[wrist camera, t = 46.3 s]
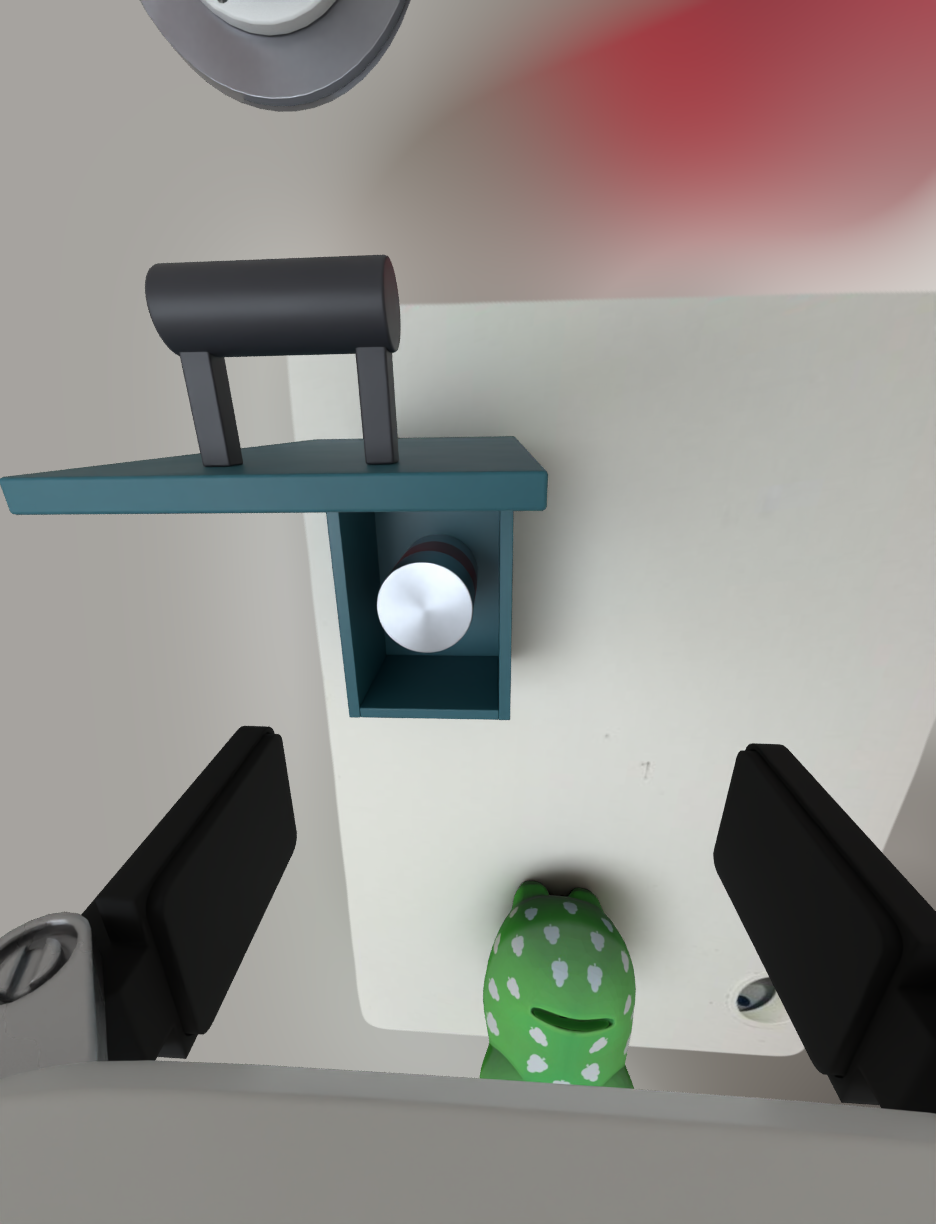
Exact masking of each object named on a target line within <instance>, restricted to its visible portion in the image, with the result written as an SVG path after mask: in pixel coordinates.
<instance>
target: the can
mask: <svg viewBox="0 0 936 1224" xmlns="http://www.w3.org/2000/svg"><path fill="white" fill-rule="evenodd" d="M477 579H478V567H477V563H476V560H475V557H474V556H473V554H472V552H471V551H470V549H469V548H468V547H467V546H466V545H465V544H463V543H462V542H461V541H459V540H458V539H456V538H453V537H451V536H447V535H430V536H426V537H423V538H421V539H419V540H418V541H416V542H415V543H414V544H413V545H412V546H411V547H410V548H409V549H408V550H407V552H406V553H405V554H404V555H403V556H402V558H401V559H400V560H399V562H398V563H397V564H396V565H395V567H394V568H393V570H392V571H391V572H390V574H389V575H388V576H387V578H386V579H385V580H384V582H383V583H382V585H381V587H380V590H379V592H378V597H377V613H378V617H379V620H380V623H381V625H382V627H383V628H384V630H385V632H386V633H387V634H388V635H389V636H390V637H391V638H392V639H393V640H394V641H395V642H396V643H398V644H399V645H401V646H403V647H404V648H407V649H409V650H412V651H416V652H422V653H432V652H438V651H442V650H445V649H447V648H449V647H451V646H453V645H454V644H456V643H457V642H458V641H459V640H461V638H462V637H463V636H464V635H465V633H466V632H467V630H468V628H469V626H470V624H471V621H472V616H473V609H474V603H475V596H476V588H477Z"/></svg>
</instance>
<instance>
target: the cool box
mask: <svg viewBox="0 0 936 1224" xmlns="http://www.w3.org/2000/svg"><path fill="white" fill-rule="evenodd" d="M326 515H327V524H328V533H329V541H330V550H331V559H332V568H333V576H334V585H335V594H336V602H337V611H338V620H339V628H340V637H341V646H342V654H343V663H344V672H345V681H346V689H347V698H348V707H349V715H350V717H378V718H437V719H495V720H498V719H499V720H510V694H511V632H512V570H513V511H441V512H326ZM430 535H447V536H451V537H453V538H456V539H458V540H459V541H461V542H462V543H463V544H465V545H466V546H467V547H468V548H469V549H470V551H471V552H472V554H473V556H474V557H475V560H476V563H477V567H478V579H477V588H476V596H475V603H474V609H473V616H472V621H471V624H470V626H469V628H468V630H467V632H466V633H465V635H464V636H463V637H462V638H461V640H459V641H458V642H457V643H456V644H454V645H453V646H451V647H449V648H447V649H445V650H442V651H438V652H432V653H422V652H416V651H412V650H409V649H407V648H404V647H403V646H401V645H399V644H398V643H396V642H395V641H394V640H393V639H392V638H391V637H390V636H389V635H388V634H387V633H386V632H385V630H384V628H383V627H382V625H381V623H380V620H379V617H378V613H377V597H378V592H379V590H380V587H381V585H382V583H383V582H384V580H385V579H386V578H387V576H388V575H389V574H390V572H391V571H392V570H393V568H394V567H395V565H396V564H397V563H398V562H399V560H400V559H401V558H402V556H403V555H404V554H405V553H406V552H407V550H408V549H409V548H410V547H411V546H412V545H413V544H414V543H415V542H416V541H418V540H419V539H421V538H423V537H426V536H430Z"/></svg>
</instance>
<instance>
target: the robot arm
mask: <svg viewBox="0 0 936 1224" xmlns="http://www.w3.org/2000/svg"><path fill="white" fill-rule="evenodd" d="M200 1H201V2H202V3H203V4H204V5H205V6H206V7H207V8H208V9H209V10H210V11H211V12H213V13H214V14H215V15H217V16H218V17H220V18H221V19H223V20H224V21H226V22H227V23H229V24H230V25H232V26H235V27H237V28H239V29H242V30H244V31H247V32H249V33H255V34H262V35H269V36H271V35H279V34H288V33H291V32H293V31H296V30H299V29H301V28H304V27H306V26H308V25H309V24H311V23H312V22H313V21H315V20H316V19H318V18H319V17H320V16H322V15H323V14H324V13H325V12H326V11H327V10H328V9H329V8H330V7H331V5H332V4H333V3H334V2H335V1H336V0H200ZM296 839H297V831H296V825H295V818H294V813H293V806H292V799H291V793H290V787H289V780H288V774H287V767H286V762H285V754H284V748H283V742H282V737H281V736H280V735H279V734H274V731H273V729H272V728H271V727H263V726H262V727H261V726H242V727H240V728H239V729H238V730H237V731H236V733H235V734H234V735H233V736H232V737H231V738H230V740H229V741H228V742H227V743H226V744H225V746H224V747H223V748H222V749H221V750H220V751H219V753H218V754H217V755H216V756H215V757H214V759H213V760H212V761H211V762H210V763H209V765H208V766H207V767H206V768H205V769H204V770H203V772H202V773H201V774H200V775H199V776H198V777H197V779H196V780H195V781H194V782H193V783H192V785H191V786H190V787H189V788H188V789H187V791H186V792H185V793H184V794H183V795H182V796H181V798H180V799H179V800H178V801H177V802H176V804H175V805H174V806H173V807H172V808H171V809H170V811H169V812H168V813H167V814H166V815H165V817H164V818H163V819H162V820H161V821H160V822H159V824H158V825H157V826H156V827H155V828H154V830H153V831H152V832H151V833H150V834H149V835H148V837H147V838H146V839H145V840H144V841H143V842H142V844H141V845H140V846H139V847H138V848H137V850H136V851H135V852H134V853H133V854H132V855H131V857H130V858H129V859H128V860H127V861H126V863H125V864H124V865H123V866H122V867H121V869H120V870H119V871H118V872H117V873H116V874H115V876H114V877H113V878H112V879H111V880H110V881H109V883H108V884H107V885H106V886H105V887H104V889H103V890H102V891H101V892H100V893H99V894H98V896H97V897H96V898H95V899H94V900H93V902H92V903H91V904H90V905H89V906H88V907H87V909H86V910H85V911H84V912H83V913H82V915H80V914H77V913H70V912H61V913H54V914H48V915H45V916H43V917H40V918H37V919H34V920H31V921H29V922H27V923H25V924H23V925H21V926H19V927H17V928H15V929H13V930H12V931H10V932H8V933H7V934H5V935H4V936H3V937H1V938H0V1224H936V911H935V910H934V909H933V908H932V907H931V906H930V905H929V904H928V903H927V901H926V900H924V898H923V897H922V896H921V895H920V894H919V893H918V892H917V890H916V889H915V888H914V887H913V886H912V885H911V884H910V883H909V882H908V881H907V879H906V878H905V877H904V876H903V875H902V874H901V873H900V872H899V871H898V870H897V869H896V867H895V866H894V865H893V864H892V863H891V862H890V861H889V860H888V859H887V858H886V856H885V855H884V854H883V853H882V852H881V851H880V850H879V849H878V848H877V846H876V845H875V844H874V843H873V842H872V841H871V840H870V839H869V838H868V837H867V836H866V834H865V833H864V832H863V831H862V830H861V829H860V828H859V827H858V826H857V825H856V823H855V822H854V821H853V820H852V819H851V818H850V817H849V816H848V815H847V814H846V812H845V811H844V810H843V809H842V808H841V807H840V806H839V805H838V804H837V803H836V801H835V800H834V799H833V798H832V797H831V796H830V795H829V794H828V793H827V792H826V790H825V789H824V788H823V787H822V786H821V785H820V784H819V783H818V782H817V781H816V779H815V778H814V777H813V776H812V775H811V774H810V773H809V772H808V771H807V770H806V768H805V767H804V766H803V765H802V764H801V763H800V762H799V761H798V760H797V759H796V757H795V756H794V755H793V754H792V753H791V752H790V751H789V750H788V749H787V748H786V747H785V746H784V745H780V744H753V743H752V744H749V745H748V746H747V747H746V750H745V751H740V752H739V753H738V755H737V758H736V762H735V766H734V770H733V774H732V778H731V782H730V786H729V791H728V795H727V799H726V803H725V807H724V811H723V815H722V819H721V823H720V827H719V831H718V835H717V840H716V844H715V848H714V853H713V857H714V864H715V868H716V871H717V873H718V875H719V877H720V879H721V881H722V883H723V885H724V887H725V889H726V891H727V893H728V895H729V897H730V899H731V901H732V903H733V905H734V907H735V909H736V911H737V913H738V915H739V917H740V919H741V921H742V923H743V925H744V927H745V929H746V931H747V933H748V935H749V937H750V939H751V941H752V943H753V945H754V947H755V949H756V951H757V953H758V955H759V957H760V959H761V961H762V963H763V965H764V967H765V969H766V971H767V973H768V975H769V977H770V979H771V981H772V983H773V985H774V987H775V989H776V991H777V993H778V995H779V997H780V999H781V1001H782V1003H783V1005H784V1007H785V1009H786V1011H787V1013H788V1015H789V1017H790V1019H791V1021H792V1023H793V1025H794V1027H795V1029H796V1031H797V1033H798V1035H799V1037H800V1039H801V1041H802V1043H803V1045H804V1047H805V1049H806V1051H807V1053H808V1055H809V1057H810V1059H811V1061H812V1063H813V1064H814V1066H815V1067H816V1069H817V1070H818V1071H819V1072H821V1073H822V1074H826V1075H828V1077H829V1079H830V1081H831V1083H832V1085H833V1087H834V1089H835V1091H836V1093H837V1095H838V1097H839V1098H840V1100H841V1102H842V1103H856V1104H872V1105H880V1107H881V1108H871V1107H860V1106H851V1105H839V1104H829V1103H819V1102H807V1101H794V1100H780V1099H766V1098H751V1097H738V1096H725V1095H711V1094H698V1093H684V1092H670V1091H656V1090H643V1089H629V1088H614V1087H599V1086H585V1085H570V1084H555V1083H540V1082H526V1081H510V1080H495V1079H480V1078H465V1077H450V1076H435V1075H434V1076H433V1075H419V1074H403V1073H386V1072H369V1071H352V1070H336V1069H320V1068H319V1069H318V1068H303V1067H287V1066H271V1065H270V1066H269V1065H254V1064H253V1065H252V1064H227V1063H202V1062H177V1061H155V1060H156V1058H157V1057H169V1058H183V1059H186V1058H187V1056H188V1054H189V1052H190V1050H191V1047H192V1046H193V1043H194V1042H195V1039H196V1037H197V1035H198V1034H205V1033H206V1032H207V1031H208V1029H209V1028H210V1027H211V1025H212V1023H213V1021H214V1019H215V1017H216V1015H217V1012H218V1010H219V1008H220V1006H221V1004H222V1002H223V1000H224V998H225V996H226V994H227V991H228V989H229V987H230V985H231V983H232V981H233V979H234V977H235V975H236V972H237V970H238V968H239V966H240V964H241V962H242V960H243V957H244V955H245V953H246V951H247V949H248V947H249V945H250V943H251V941H252V939H253V936H254V934H255V932H256V930H257V928H258V926H259V924H260V922H261V919H262V917H263V915H264V913H265V911H266V909H267V907H268V905H269V902H270V900H271V898H272V896H273V894H274V892H275V890H276V888H277V885H278V884H279V881H280V879H281V877H282V875H283V873H284V871H285V868H286V867H287V864H288V862H289V860H290V858H291V856H292V854H293V851H294V849H295V845H296Z"/></svg>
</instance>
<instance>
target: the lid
mask: <svg viewBox="0 0 936 1224" xmlns="http://www.w3.org/2000/svg"><path fill="white" fill-rule="evenodd" d="M145 294H146V300H147V306H148V310H149V313H150V316H151V318H152V321H153V324H154V326H155V328H156V330H157V332H158V334H159V335H160V337H161V338H162V340H163V342H164V343H165V344H166V345H167V347H168V348H169V349H170V350H171V351H173V352H174V353H175V354H177V355H179V356H180V358H181V363H182V368H183V373H184V377H185V382H186V387H187V392H188V396H189V401H190V406H191V411H192V415H193V420H194V425H195V430H196V434H197V439H198V443H199V448H200V453H199V454H192V455H183V456H174V457H167V458H158V459H149V460H141V461H133V462H125V463H116V464H108V465H100V466H91V467H83V468H74V469H66V470H59V471H50V472H41V473H33V474H24V475H16V476H8V477H2V478H1V479H0V485H1V488H2V490H3V493H4V496H5V498H6V501H7V504H8V507H9V510H10V512H11V513H12V514H16V515H37V514H38V515H40V514H41V515H43V514H44V515H47V514H171V513H172V514H174V513H177V514H178V513H309V512H441V511H543V510H545V509H546V507H547V487H548V473H547V471H546V470H545V469H544V468H543V467H542V466H541V465H540V464H539V463H538V462H537V460H536V459H535V458H534V457H533V456H532V455H531V454H530V453H529V452H528V451H527V450H526V449H525V447H524V446H523V445H522V444H521V443H520V442H519V441H518V440H517V439H516V438H515V437H514V436H499V437H439V438H398V437H397V422H396V407H395V392H394V377H393V362H392V353H394V352H396V351H397V350H398V347H399V343H400V306H399V297H398V289H397V283H396V277H395V273H394V269H393V266H392V263H391V261H390V259H389V257H388V256H386V255H366V256H339V257H314V258H288V259H262V260H236V261H211V262H185V263H161V264H155V265H154V266H152V267H151V268H150V269H149V271H148V273H147V276H146V281H145ZM322 354H356V363H357V374H358V385H359V396H360V407H361V418H362V429H363V439H317V440H308V441H299V442H291V443H283V444H274V445H266V446H258V447H249V448H240V442H239V436H238V431H237V426H236V420H235V414H234V409H233V403H232V398H231V392H230V387H229V381H228V376H227V370H226V365H225V359H224V357H241V356H242V357H247V356H283V355H322Z"/></svg>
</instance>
